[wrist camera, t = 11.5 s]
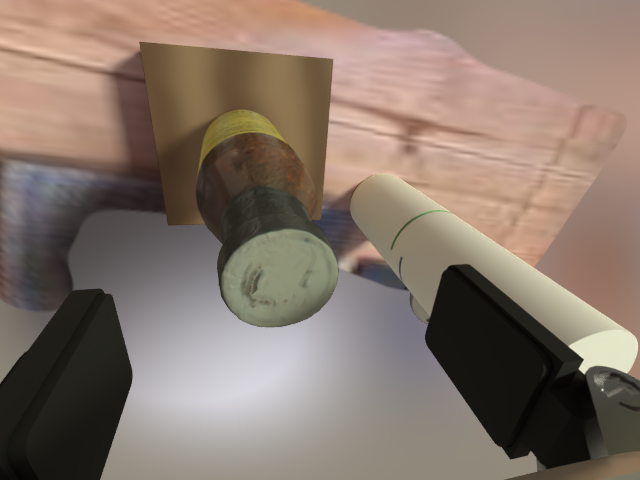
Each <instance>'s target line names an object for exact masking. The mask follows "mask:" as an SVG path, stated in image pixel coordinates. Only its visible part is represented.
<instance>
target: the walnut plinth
mask: <svg viewBox="0 0 640 480" xmlns="http://www.w3.org/2000/svg"><path fill="white" fill-rule="evenodd" d="M139 43H140V49H141V56H142V62H143V68H144V75H145V81H146V88H147V94H148V100H149V107H150V113H151V119H152V126H153V132H154V139H155V145H156V151H157V158H158V164H159V170H160V177H161V183H162V190H163V196H164V202H165V209H166V215H167V222H168V225H191V224H205V223H204V221H203V220H202V218H201V215H200V213H199V210H198V206H197V200H196V182H197V175H198V168H199V162H200V156H201V149H202V143H203V138H204V135H205V133H206V131H207V129H208V127H209V126H210V124H211V123H212V122H213V121H214V120H215V119H216V118H218V117H219V116H221V115H222V114H224V113H226V112H229V111H231V110H235V109H241V110H249V111H253V112H256V113H258V114H260V115H262V116H264V117H265V118H267V119H268V120H269V121H270V123H271V124H273V125H274V126H275V128H276V129H277V130H278V131H279V132H280V133H281V135H282V136H283V137H284V138H285V139H286V141H287V142H288V143H289V144H290V145H291V147H292V148H293V149H294V150H295V152H296V153H297V154H298V156H299V157H300V159H301V161H302V163H303V164H304V166H305V167H306V168H307V170H308V172H309V174H310V176H311V179H312V181H313V184H314V188H315V192H316V196H317V205H316V209H315V214H314V217H313V219H312V220H321V210H322V198H323V185H324V172H325V159H326V146H327V133H328V121H329V108H330V95H331V82H332V69H333V59H327V58H315V57H304V56H293V55H282V54H270V53H259V52H248V51H237V50H225V49H214V48H203V47H192V46H180V45H169V44H158V43H147V42H139Z"/></svg>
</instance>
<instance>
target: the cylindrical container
mask: <svg viewBox="0 0 640 480" xmlns="http://www.w3.org/2000/svg"><path fill="white" fill-rule="evenodd" d="M350 213H351V216H352V219H353V220H354V222H355V223H356V225H357V226H358V227H359V228H360V229H361V231H362V232H363V233H364V234H365V236H366V237H367V238H368V239H369V241H370V242H371V243H372V244H373V246H374V247H375V248H376V249H377V251H378V252H379V253H380V254H381V256H382V257H383V258H384V260H385V261H386V262H387V263H388V265H389V266H390V267H391V268H392V270H393V271H394V272H395V273H396V275H397V276H398V277H399V278H400V280H401V281H402V282H403V283H404V285H405V286H406V287H407V288H408V290H409V291H410V292H411V293H412V295H413V296H414V297H415V298H416V300H417V301H418V302H419V303H420V305H421V306H422V307H423V308H424V310H425V311H426V312H427V313H428V315H429V316H431V312H432V309H433V305H434V301H435V298H436V294H437V290H438V287H439V283H440V280H441V276H442V273H443V271H444V270H446V269H447V268H448V266H450V265H457V264H469V265H471V266H472V267H474V268H475V269H476V270H477V271H478V272H480V273H481V274H482V275H483V276H484V277H486V278H487V279H488V280H489V281H490V282H492V283H493V284H494V285H495V286H496V287H498V288H499V289H500V290H501V291H502V292H504V293H505V294H506V295H507V296H508V297H510V298H511V299H512V300H513V301H514V302H516V303H517V304H518V305H519V306H520V307H522V308H523V309H524V310H525V311H526V312H528V313H529V314H530V315H531V316H532V317H534V318H535V319H536V320H537V321H538V322H540V323H541V324H542V325H543V326H544V327H546V328H547V329H548V330H549V331H550V332H552V333H553V334H554V335H555V336H556V337H558V338H559V339H560V340H561V341H562V342H564V343H565V344H566V345H567V346H568V347H570V348H571V349H572V350H573V351H574V352H576V353H577V354H578V355H579V356H580V357H582V358H583V359H584V361H583V362H582V364H581V366H580V367H579V370H580V371H581V372H582V373H583V374H585V373H586V371H587V370H588V369H589V368H590V367H593V366H606V367H610V368H614V369H617V370H620V371H622V372H624V373H628V372H629V370H630V369H631V367H632V365H633V363H634V361H635V359H636V356H637V352H638V342H637V339H636V337H635V336H634V335H632V334H631V333H630V332H629V331H627V330H626V329H624V328H623V327H621V326H620V325H618V324H617V323H615V322H614V321H612V320H611V319H609V318H607V317H606V316H605V315H603V314H602V313H600V312H599V311H597V310H596V309H594V308H593V307H591V306H590V305H588V304H587V303H585V302H584V301H582V300H581V299H579V298H578V297H576V296H575V295H573V294H572V293H570V292H569V291H567V290H566V289H564V288H563V287H561V286H560V285H558V284H557V283H556V282H554V281H552V280H551V279H549V278H548V277H547V276H545V275H544V274H542V273H541V272H539V271H537V270H536V269H535V268H533V267H532V266H530V265H529V264H527V263H526V262H524V261H523V260H521V259H520V258H518V257H517V256H515V255H514V254H512V253H511V252H509V251H508V250H506V249H505V248H503V247H502V246H500V245H499V244H497V243H496V242H494V241H493V240H491V239H490V238H488V237H487V236H485V235H484V234H482V233H481V232H479V231H478V230H476V229H475V228H473V227H472V226H470V225H469V224H467V223H466V222H464V221H463V220H461V219H460V218H458V217H457V216H455V215H454V214H452V213H451V212H449V211H448V210H446V209H445V208H443V207H442V206H440V205H439V204H437V203H436V202H434V201H433V200H431V199H430V198H428V197H427V196H425V195H424V194H422V193H421V192H419V191H418V190H416V189H415V188H413V187H412V186H411V185H409V184H408V183H406V182H405V181H403V180H402V179H400V178H399V177H397V176H395V175H393V174H388V173H380V174H375V175H373V176H370V177H368V178H367V179H365V180H364V181H363V182H362V183H361V184H360V185H359V186H358V187H357V188H356V190H355V191H354V193H353V195H352V198H351V202H350Z"/></svg>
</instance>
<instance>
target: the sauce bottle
mask: <svg viewBox="0 0 640 480" xmlns="http://www.w3.org/2000/svg"><path fill="white" fill-rule="evenodd" d="M196 200H197V206H198V210H199V213H200V215H201V218H202V220H203V221H204V223H205V225H206V226H207V227H208V229H209V230H210V231H211V232H212V233H213V234H214V235H215V236H216V237H217V239H218V240H219V241H220V242H221V243H222V244H223V246H222V247H221V250H220V252H219V256H218V262H217V270H218V277H219V286H220V291H221V297H222V298H223V300H224V302H225V304H226V305H227V307H228V308H229V309H230V311H231V312H232V313H234V314H235V315H236V316H237V317H238V318H239V319H240V320H242V321H244V322H246V323H248V324H251V325H254V326H258V327H282V326H287V325H291V324H295V323H298V322H300V321H303V320H305V319H308V318H309V317H311V316H312V315H313V314H315V313H316V312H318V311H319V310H320V309H321V308H322V307H323V306H324V305H325V304H326V303H327V302H328V300H329V299H330V298H331V296H332V294H333V292H334V290H335V287H336V284H337V278H338V275H339V269H338V262H337V258H336V256H335V253H334V251H333V249H332V247H331V245H330V243H329V241H328V239H327V238H326V236H325V234H324V233H323V232H322V231H321V229H320V228H319V227H318V226H317V225H315V224H314V223H312V222H311V221H312V219H313V217H314V214H315V209H316V205H317V196H316V192H315V188H314V184H313V181H312V179H311V176H310V174H309V172H308V170H307V168H306V167H305V166H304V164H303V163H302V161H301V159H300V157H299V156H298V154H297V153H296V152H295V150H294V149H293V148H292V147H291V145H290V144H289V143H288V142H287V141H286V139H285V138H284V137H283V136H282V135H281V133H280V132H279V131H278V130H277V129H276V128H275V126H274V125H273V124H271V123H270V121H269V120H268V119H267V118H265V117H264V116H262V115H260V114H258V113H256V112H253V111H249V110H241V109H235V110H231V111H229V112H226V113H224V114H222V115H221V116H219V117H218V118H216V119H215V120H214V121H213V122H212V123H211V124H210V126H209V127H208V129H207V131H206V133H205V135H204V138H203V143H202V149H201V156H200V162H199V168H198V175H197V182H196Z"/></svg>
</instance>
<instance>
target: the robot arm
mask: <svg viewBox="0 0 640 480" xmlns="http://www.w3.org/2000/svg"><path fill="white" fill-rule="evenodd" d="M410 305H411V308H412V310H413V312H414V313H415V315H416V316H417V317H418V318H419V319H420V320H421V321H422V322H424V323H426V324H428V327H427V330H426V334H425V340H426V344H427V346H428V348H429V349H430V351H431V352H432V353H433V355H434V356H435V358H436V359H437V361H438V362H439V364H440V365H441V366H442V368H443V369H444V371H445V372H446V374H447V375H448V377H449V378H450V379H451V381H452V382H453V383H454V385H455V386H456V388H457V389H458V391H459V392H460V394H461V395H462V397H463V398H464V399H465V401H466V402H467V404H468V405H469V407H470V408H471V410H472V411H473V413H474V414H475V415H476V417H477V418H478V420H479V421H480V422H481V424H482V426H483V427H484V428H485V430H486V431H487V433H488V434H489V436H490V437H491V438H492V440H493V441H494V442H495V444H497V445H498V446H500V447H502V448H503V450H504V451H505V452H506V454H507V455H508V457H509V458H510V459H515V458H519V457H523V456H527V455H528V454H529V452H530V451H532V452H533V454H534V455H535V456H536V458H537V471H538V472H534V473H531V474H526V475H522V476H518V477H514V478H510V479H506V480H640V380H638V379H636V378H634V377H632V376H631V375H629V374H627V373H624V372H622V371H620V370H617V369H614V368H610V367H606V366H593V367H590V368H589V369H588V370H587V371H586V373H585V374H583V373H582V372H581V371H580V370H579V367H580V366H581V364H582V362H583V361H584V359H583V358H582V357H580V356H579V355H578V354H577V353H576V352H574V351H573V350H572V349H571V348H570V347H568V346H567V345H566V344H565V343H564V342H562V341H561V340H560V339H559V338H558V337H556V336H555V335H554V334H553V333H552V332H550V331H549V330H548V329H547V328H546V327H544V326H543V325H542V324H541V323H540V322H538V321H537V320H536V319H535V318H534V317H532V316H531V315H530V314H529V313H528V312H526V311H525V310H524V309H523V308H522V307H520V306H519V305H518V304H517V303H516V302H514V301H513V300H512V299H511V298H510V297H508V296H507V295H506V294H505V293H504V292H502V291H501V290H500V289H499V288H498V287H496V286H495V285H494V284H493V283H492V282H490V281H489V280H488V279H487V278H486V277H484V276H483V275H482V274H481V273H480V272H478V271H477V270H476V269H475V268H474V267H472V266H471V265H469V264H457V265H450V266H448V268H447V269H446V270H444V271H443V273H442V276H441V280H440V283H439V287H438V290H437V294H436V298H435V301H434V305H433V309H432V312H431V316H429V315H428V313H427V312H426V311H425V310H424V308H423V307H422V306H421V305H420V303H419V302H418V301H417V300H416V298H415V297H414V296H413V295H412V293H410ZM131 384H132V368H131V364H130V360H129V357H128V353H127V349H126V346H125V341H124V338H123V334H122V330H121V326H120V323H119V319H118V315H117V311H116V308H115V304H114V300H113V297H112V295H111V294H105V293H104V291H103V290H102V289H86V290H74V291H72V292H71V293H70V294H69V295H68V297H67V298H66V300H65V301H64V302H63V304H62V305H61V306H60V308H59V309H58V310H57V312H56V313H55V315H54V316H53V317H52V319H51V320H50V321H49V323H48V324H47V325H46V327H45V328H44V330H43V331H42V332H41V334H40V335H39V336H38V338H37V339H36V340H35V342H34V343H33V344H32V346H31V347H30V348H29V350H28V351H27V352H25V353H24V354H23V355H22V356H21V357H20V358H19V359H18V361H17V362H16V363H15V365H14V366H13V367H12V369H11V370H10V371H9V373H8V374H7V375H6V377H5V378H4V379H3V381H2V382H1V384H0V480H100V478H101V475H102V472H103V469H104V466H105V463H106V460H107V457H108V454H109V451H110V448H111V445H112V441H113V439H114V436H115V433H116V430H117V427H118V423H119V420H120V417H121V414H122V411H123V408H124V405H125V402H126V399H127V396H128V393H129V390H130V387H131Z"/></svg>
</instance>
